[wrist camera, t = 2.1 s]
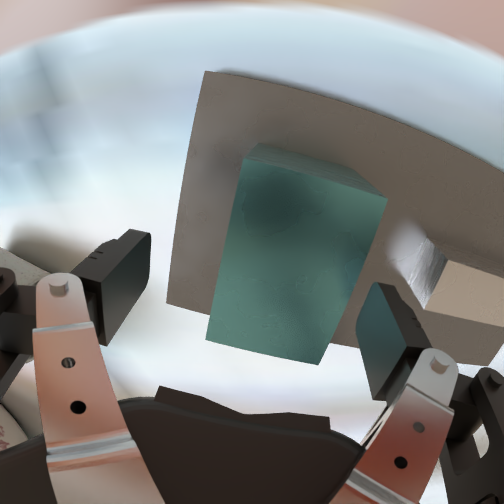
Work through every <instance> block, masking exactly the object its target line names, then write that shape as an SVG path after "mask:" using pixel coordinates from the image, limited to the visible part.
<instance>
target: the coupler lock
mask: <svg viewBox="0 0 504 504" xmlns="http://www.w3.org/2000/svg"><path fill="white" fill-rule="evenodd" d="M387 201H388V198H386V197H385V196H384V195H383V194H382V193H381V192H380V191H378V190H377V189H376V188H375V187H374V186H373V185H371V184H370V183H369V182H368V181H367V180H366V179H364V178H363V177H362V176H361V175H360V174H358V173H357V172H356V171H355V170H354V169H351V168H348V167H344V166H341V165H338V164H335V163H331V162H328V161H324V160H321V159H317V158H314V157H310V156H307V155H303V154H299V153H296V152H292V151H288V150H284V149H280V148H276V147H272V146H268V145H264V144H260V143H258V144H257V145H256V146H255V147H254V148H253V149H252V150H251V151H250V152H249V153H248V154H247V155H246V156H245V157H244V158H243V162H242V167H241V171H240V175H239V180H238V184H237V189H236V193H235V198H234V202H233V207H232V211H231V216H230V221H229V225H228V230H227V235H226V239H225V244H224V249H223V254H222V259H221V263H220V268H219V273H218V278H217V283H216V288H215V293H214V298H213V303H212V308H211V313H210V318H209V323H208V329H207V334H206V339H205V340H208V341H212V342H216V343H219V344H223V345H227V346H231V347H236V348H240V349H244V350H248V351H252V352H257V353H261V354H266V355H270V356H275V357H280V358H284V359H289V360H294V361H299V362H304V363H310V364H315V365H319V363H320V361H321V359H322V357H323V355H324V353H325V351H326V349H327V347H328V345H329V342H330V340H331V338H332V336H333V334H334V332H335V330H336V328H337V325H338V323H339V321H340V319H341V317H342V314H343V312H344V310H345V308H346V305H347V303H348V301H349V299H350V296H351V294H352V292H353V289H354V287H355V285H356V282H357V280H358V277H359V275H360V273H361V270H362V268H363V265H364V263H365V260H366V258H367V255H368V253H369V250H370V247H371V245H372V242H373V240H374V237H375V234H376V232H377V229H378V226H379V223H380V221H381V218H382V215H383V212H384V209H385V206H386V204H387Z"/></svg>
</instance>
